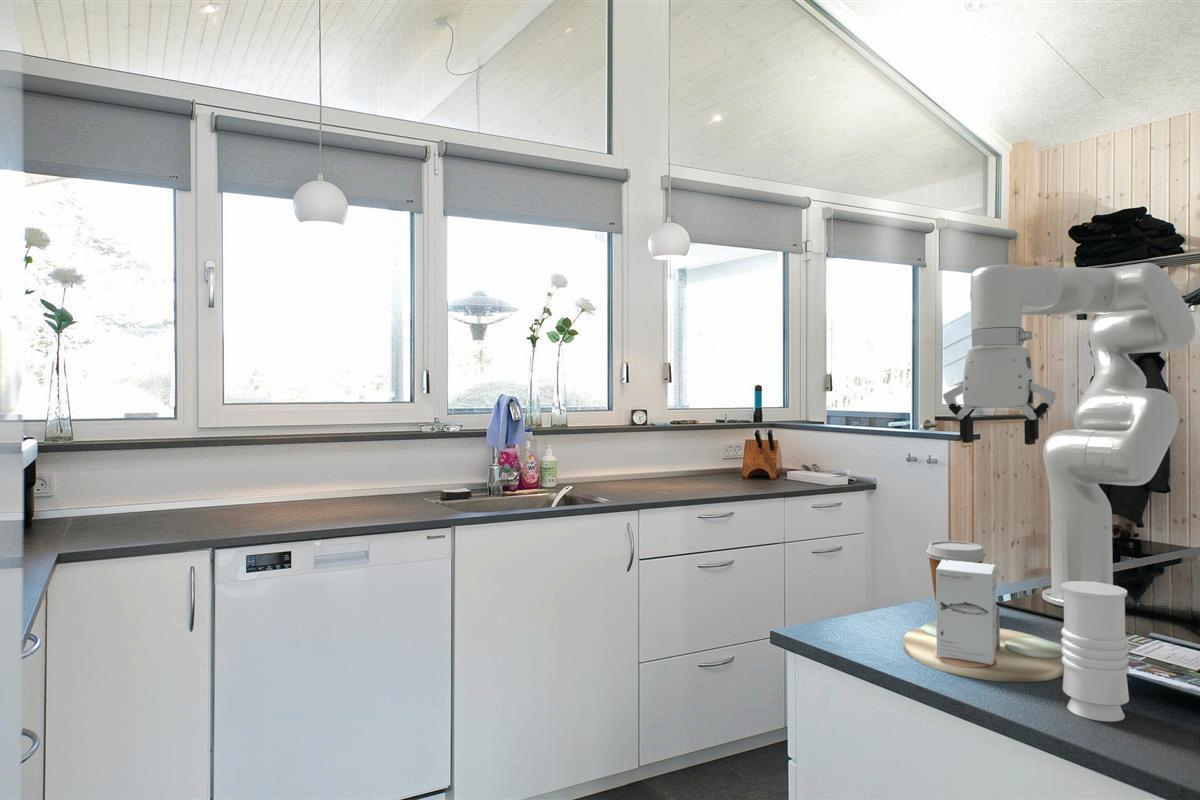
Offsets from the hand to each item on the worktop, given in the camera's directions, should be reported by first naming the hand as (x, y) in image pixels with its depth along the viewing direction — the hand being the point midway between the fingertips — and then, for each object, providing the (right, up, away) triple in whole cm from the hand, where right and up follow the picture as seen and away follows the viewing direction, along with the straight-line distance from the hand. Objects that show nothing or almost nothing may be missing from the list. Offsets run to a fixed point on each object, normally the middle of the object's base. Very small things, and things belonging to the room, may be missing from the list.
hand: (998, 443), depth 127 cm
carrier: (-9, -31, -14) cm, 35 cm away
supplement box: (-14, -29, -19) cm, 37 cm away
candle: (-6, -31, -35) cm, 47 cm away
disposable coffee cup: (-4, -31, +7) cm, 32 cm away
